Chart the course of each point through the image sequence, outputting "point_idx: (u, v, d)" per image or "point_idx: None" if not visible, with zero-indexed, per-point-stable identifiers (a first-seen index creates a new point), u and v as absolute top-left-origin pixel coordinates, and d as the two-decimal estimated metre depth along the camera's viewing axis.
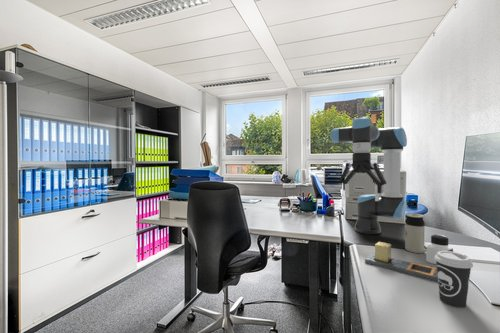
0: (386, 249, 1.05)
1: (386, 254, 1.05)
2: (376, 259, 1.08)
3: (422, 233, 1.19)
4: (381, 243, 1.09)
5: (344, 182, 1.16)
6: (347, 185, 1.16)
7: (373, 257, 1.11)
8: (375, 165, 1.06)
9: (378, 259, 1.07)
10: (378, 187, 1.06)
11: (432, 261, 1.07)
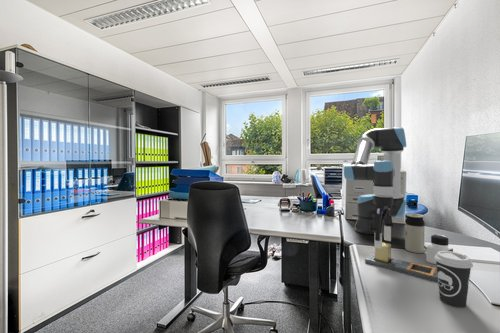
0: (386, 249, 1.05)
1: (386, 254, 1.05)
2: (376, 259, 1.08)
3: (422, 233, 1.19)
4: None
5: None
6: (386, 228, 1.13)
7: (373, 257, 1.11)
8: None
9: (378, 259, 1.07)
10: None
11: (432, 261, 1.07)
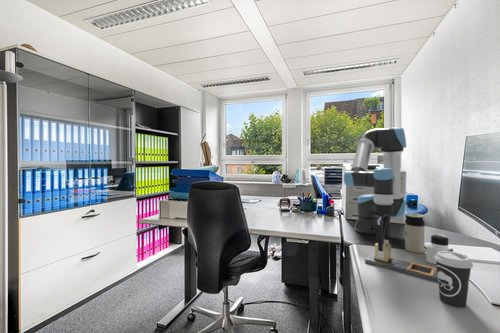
0: (386, 249, 1.05)
1: (386, 254, 1.05)
2: (376, 259, 1.08)
3: (422, 233, 1.19)
4: None
5: None
6: (384, 241, 1.10)
7: (373, 257, 1.11)
8: (375, 222, 1.04)
9: (378, 259, 1.07)
10: None
11: (432, 261, 1.07)
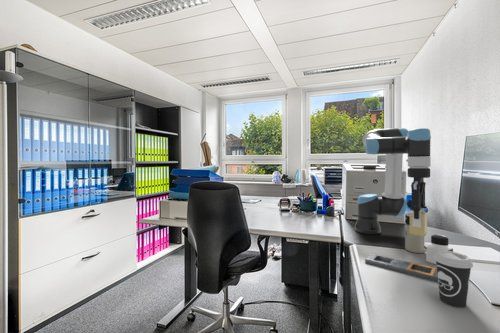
0: (423, 217, 0.95)
1: (423, 222, 0.95)
2: (411, 229, 0.98)
3: None
4: None
5: None
6: None
7: (373, 257, 1.11)
8: None
9: (413, 228, 0.98)
10: (414, 212, 0.96)
11: (432, 261, 1.07)
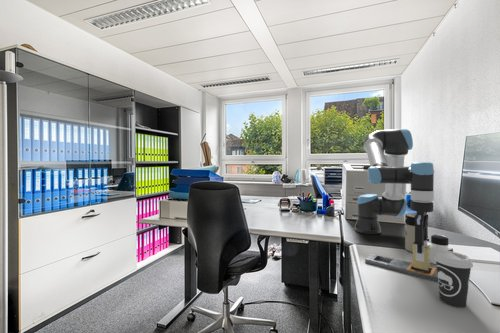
0: (426, 251, 0.95)
1: (426, 257, 0.95)
2: (414, 262, 0.98)
3: None
4: None
5: None
6: None
7: (373, 257, 1.11)
8: None
9: (416, 262, 0.97)
10: None
11: (432, 261, 1.07)
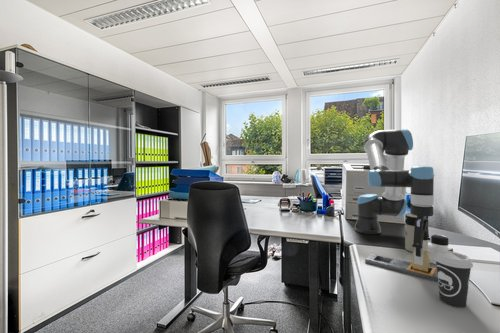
0: (426, 258, 0.95)
1: (426, 263, 0.95)
2: (414, 268, 0.98)
3: None
4: None
5: None
6: (423, 242, 1.02)
7: (373, 257, 1.11)
8: None
9: (416, 268, 0.98)
10: (416, 249, 0.94)
11: (432, 261, 1.07)
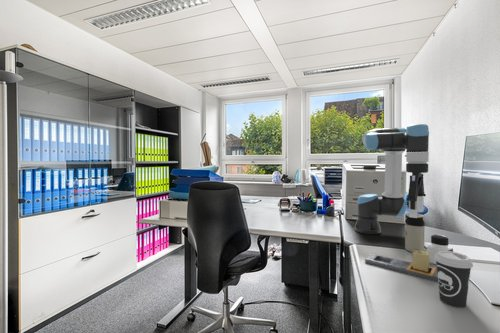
0: (426, 258, 0.95)
1: (426, 263, 0.95)
2: (414, 268, 0.98)
3: (422, 233, 1.19)
4: (419, 251, 0.99)
5: None
6: (418, 198, 1.06)
7: (373, 257, 1.11)
8: (410, 178, 0.97)
9: (416, 268, 0.98)
10: None
11: (432, 261, 1.07)
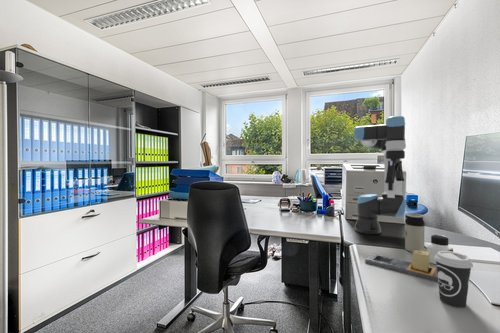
0: (426, 258, 0.95)
1: (426, 263, 0.95)
2: (414, 268, 0.98)
3: (422, 233, 1.19)
4: (419, 251, 0.99)
5: (396, 179, 1.20)
6: (398, 182, 1.19)
7: (373, 257, 1.11)
8: (388, 163, 1.10)
9: (416, 268, 0.98)
10: None
11: (432, 261, 1.07)
